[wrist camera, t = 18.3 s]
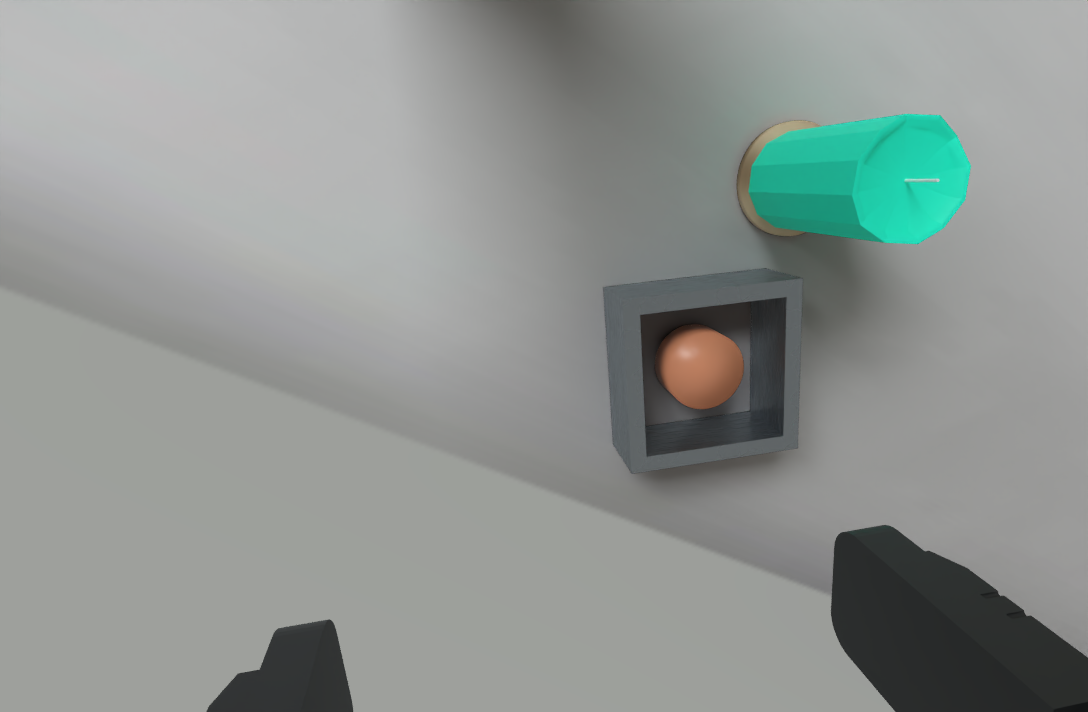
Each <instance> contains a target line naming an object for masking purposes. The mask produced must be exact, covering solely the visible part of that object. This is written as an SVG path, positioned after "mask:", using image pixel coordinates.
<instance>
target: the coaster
mask: <svg viewBox="0 0 1088 712" xmlns="http://www.w3.org/2000/svg"><path fill="white" fill-rule="evenodd" d="M815 127H821V126H820V125H818V124H816V123H813V122H809V121H803V120H799V121H789V122H784V123H780V124H777V125H775V126H773V127H770V128H769V129H767V130H766V131H764V132H763V133H761V134H760V135H759V136H758V137H757V138H756V139H755V140H754V141H753V142H752V143H751V145H750V146H749V147H748V149H747V151H746V152H745V154H744V156H743V158H742V161H741V163H740V167H739V170H738V176H737V194H738V199H739V202H740V206H741V208H742V210H743V212H744V214H745V215H746V217H747V218H748V219H749V221H750V222H751V223H752V224H753V225H755V226H756V227H757V228H759V229H760V230H762V231H764V232H767V233H769V234H773V235H779V236H795V235H800V234H803V233H806V232H804V231H797V230H790V229H782V228H775V227H774V226H772V225H771V224H770V223H768V222H767V221H766V220H764V219H763V218H762V217H760V216H759V215H757V213H756V210H755V207H754V205H753V202H752V200H751V197H750V195H749V192H748V191H749V183H750V175H751V167H752V165H753V163H754V162H755V160H756V159H757V157H758V156H759V154H760V152H761V151H762V149H763V148H764V146H765V145H766V144H767V143H768V142H770V141H772V140H774V139H776V138H777V137H779V136H781V135H783V134H785V133H786V132H788V131H795V130H801V129H808V128H815Z"/></svg>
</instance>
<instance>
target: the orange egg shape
mask: <svg viewBox="0 0 1088 712" xmlns="http://www.w3.org/2000/svg"><path fill="white" fill-rule="evenodd" d="M655 371H656V375H657V377H658V380H659V381H660V383H661V384H662V385H663V387H664V388H666V389H667V390H668V391H669V392H670V393H671V394H672V395H673V396H674V397H675V398H676V399H677V400H678V401H679V402H681V403H682V404H683V405H685V406H687V407H690V408H694V409H708V408H713V407H715V406H718V405H720V404H722V403H723V402H725V401H726V400H727V399H729V398H730V397H731V396H732V395H733V394H734V392H735V391H736V390H737V388H738V386H739V384H740V382H741V380H742V376H743V371H744V362H743V357H742V354H741V352H740V350H739V348H738V347H737V345H736V344H735V343H734V342H733V341H732V340H731V339H729V338H728V337H726V336H724V335H722V334H720V333H719V332H717V331H715V330H713V329H711V328H709V327H707V326H705V325H700V324H689V325H685V326H682V327H679V328H677V329H675V330H674V331H672V332H671V333H670V334H668V335H667V336H666V338H665V339H664V340H663V341H662V343H661V344H660V346H659V348H658V350H657V353H656V357H655Z"/></svg>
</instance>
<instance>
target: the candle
mask: <svg viewBox="0 0 1088 712" xmlns="http://www.w3.org/2000/svg"><path fill="white" fill-rule="evenodd" d="M970 169H971V165H970V163H969V161H968V158H967V156H966V154H965V152H964V150H963V148H962V145H961V143H960V141H959V139H958V137H957V135H956V134H955V133H954V131H953V130H952V129H951V128H950V126H949V125H948V124H947V123H946V122H945V120H944V119H943V118H942V117H941V116H940V115H919V114H902V115H896V116H889V117H882V118H875V119H869V120H862V121H855V122H848V123H842V124H835V125H828V126H821V127H815V128H808V129H801V130H795V131H788V132H786V133H785V134H783V135H781V136H779V137H777V138H776V139H774V140H772V141H770V142H768V143H767V144H766V145H765V146H764V148H763V149H762V151H761V152H760V154H759V156H758V157H757V159H756V160H755V162H754V163H753V165H752V167H751V175H750V183H749V191H748V192H749V195H750V197H751V200H752V202H753V205H754V207H755V210H756V213H757V215H759V216H760V217H762V218H763V219H764V220H766V221H767V222H768V223H770V224H771V225H772V226H774V227H775V228H782V229H790V230H797V231H804V232H811V233H819V234H826V235H833V236H840V237H847V238H855V239H862V240H869V241H876V242H884V243H904V244H919V243H920V242H922V241H924V240H925V239H927V238H929V237H930V236H932V235H933V234H935V233H937V232H938V231H940V230H942V229H943V228H944V227H945V226H946V224H947V223H948V222H949V220H950V219H951V218H952V217H953V215H954V214H955V213H956V211H957V210H958V209H959V207H960V206H961V205H962V203H963V202H964V201H965V198H966V192H967V186H968V180H969V174H970Z"/></svg>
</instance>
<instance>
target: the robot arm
mask: <svg viewBox="0 0 1088 712" xmlns="http://www.w3.org/2000/svg"><path fill="white" fill-rule="evenodd" d="M831 604H832V605H831V616H832V622H833V626H834V630H835V633H836V636H837V638H838V640H839V642H840V644H841V646H842V648H843V649H844V651H845V652H846V654H847V655H848V656H849V657H850V658H851V660H852V661H853V662H854V663H855V664H856V665H857V667H858V668H859V669H860V670H861V671H862V672H863V674H864V675H865V676H866V677H867V679H868V680H869V681H870V682H871V683H872V684H873V686H874V687H875V688H876V689H877V690H878V692H879V693H880V694H881V695H882V696H883V697H884V699H885V700H886V701H887V702H888V703H889V705H890V706H891V707H892V708H893V709H894V710H895V712H1088V658H1087V657H1086V656H1085V655H1083V654H1082V653H1081V652H1079V651H1078V650H1077V649H1075V648H1074V647H1073V646H1071V645H1070V644H1068V643H1067V642H1066V641H1064V640H1063V639H1062V638H1060V637H1059V636H1058V635H1056V634H1055V633H1054V632H1052V631H1051V630H1050V629H1048V628H1047V627H1046V626H1044V625H1043V624H1042V623H1040V622H1039V621H1038V620H1036V619H1035V618H1033V617H1032V616H1026V615H1025V613H1024V610H1023V609H1021V608H1020V607H1019V606H1017V605H1016V604H1015V603H1013V602H1012V601H1011V600H1009V599H1008V598H1007V597H1005V596H1000V595H999V594H998V591H997V590H996V589H994V588H993V587H992V586H990V585H989V584H988V583H986V582H985V581H984V580H982V579H981V578H980V577H978V576H977V575H976V574H974V573H973V572H972V571H970V570H969V569H967V568H966V567H963V566H961V565H959V564H957V563H955V562H952V561H950V560H948V559H946V558H944V557H941V556H939V555H937V554H935V553H933V552H930V551H926V552H925V551H923V550H922V549H921V548H920V547H918V546H917V545H916V544H914V543H913V542H912V541H911V540H909V539H908V538H907V537H905V536H904V535H903V534H901V533H900V532H899V531H898V530H896V529H895V528H893V527H891V526H888V525H882V526H876V527H870V528H865V529H859V530H853V531H847V532H842V533H840V534H839V535H838V536H837V538H836V541H835V546H834V564H833V584H832V603H831ZM207 712H353V706H352V700H351V695H350V690H349V686H348V681H347V677H346V673H345V668H344V664H343V659H342V654H341V650H340V646H339V641H338V637H337V633H336V629H335V626H334V623H333V622H332V621H331V620H324V621H318V622H312V623H307V624H301V625H296V626H289V627H284V628H279V629H277V630H276V631H275V633H274V634H273V637H272V639H271V642H270V644H269V647H268V650H267V652H266V655H265V657H264V660H263V663H262V665H261V668H260V670H256V671H250V672H245V673H239V674H237V675H236V677H235V678H234V679H233V680H232V681H231V682H230V683H229V685H228V686H227V687H226V688H225V689H224V690H223V691H222V692H221V693H220V695H219V696H218V697H217V698H216V699H215V700H214V701H213V703H212V704H211V705H210V706H209V707H208V710H207Z"/></svg>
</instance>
